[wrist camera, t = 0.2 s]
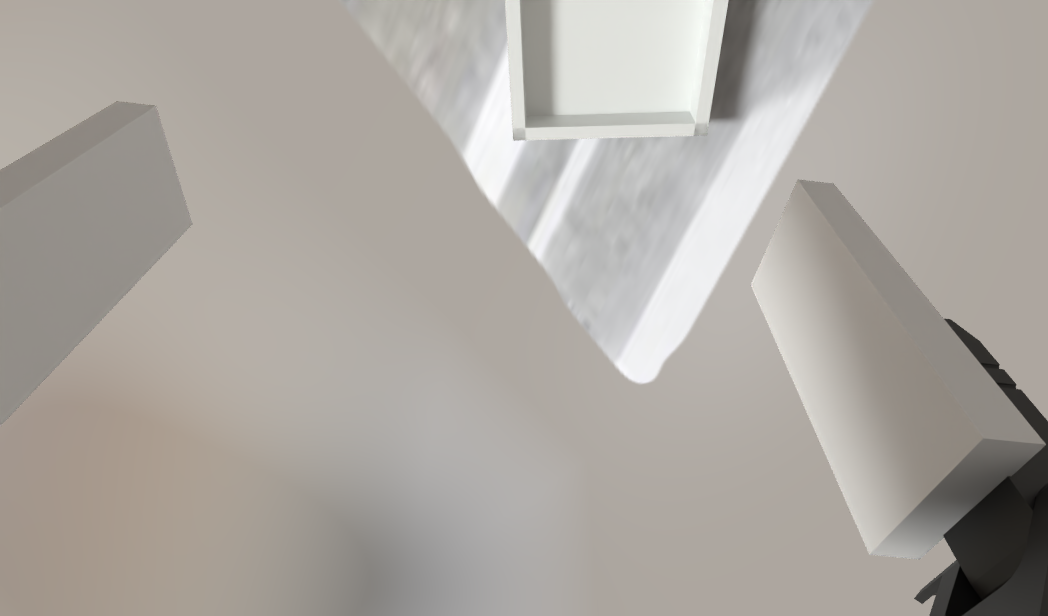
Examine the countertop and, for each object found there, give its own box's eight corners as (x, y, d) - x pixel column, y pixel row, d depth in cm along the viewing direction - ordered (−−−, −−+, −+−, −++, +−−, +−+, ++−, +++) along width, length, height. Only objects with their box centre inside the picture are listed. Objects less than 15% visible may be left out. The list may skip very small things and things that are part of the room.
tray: (503, -95, 31) (499, -91, 29) (732, -107, 30) (745, -103, 28) (515, 124, 39) (513, 140, 37) (698, 119, 38) (706, 135, 36)
